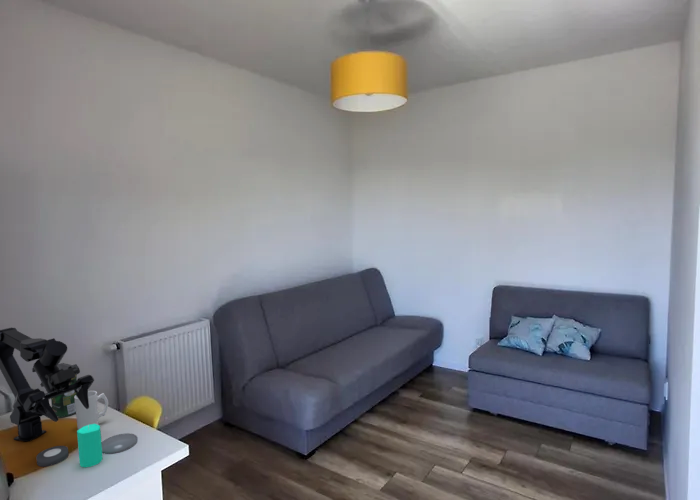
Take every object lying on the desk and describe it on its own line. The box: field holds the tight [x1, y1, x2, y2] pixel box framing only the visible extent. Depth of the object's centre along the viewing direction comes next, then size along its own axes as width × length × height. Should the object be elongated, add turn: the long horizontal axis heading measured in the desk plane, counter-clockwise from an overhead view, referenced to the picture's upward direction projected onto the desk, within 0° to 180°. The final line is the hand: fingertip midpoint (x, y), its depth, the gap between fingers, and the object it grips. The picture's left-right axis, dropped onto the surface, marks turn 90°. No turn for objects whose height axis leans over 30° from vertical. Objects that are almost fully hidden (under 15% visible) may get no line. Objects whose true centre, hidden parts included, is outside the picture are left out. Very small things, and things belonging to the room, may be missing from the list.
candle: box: [76, 424, 104, 468], centre depth 130 cm, size 6×6×12 cm
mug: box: [74, 390, 109, 431], centre depth 152 cm, size 10×7×12 cm, turn 128°
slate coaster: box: [101, 432, 138, 455], centre depth 140 cm, size 11×11×1 cm
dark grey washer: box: [35, 445, 69, 468], centre depth 132 cm, size 8×8×2 cm
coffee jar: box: [50, 362, 78, 418], centre depth 163 cm, size 10×8×19 cm
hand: (73, 414), depth 133 cm, fingers open, 9 cm apart
